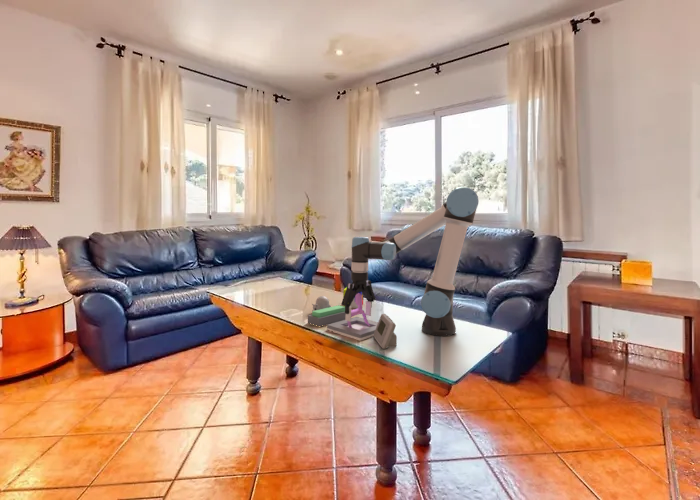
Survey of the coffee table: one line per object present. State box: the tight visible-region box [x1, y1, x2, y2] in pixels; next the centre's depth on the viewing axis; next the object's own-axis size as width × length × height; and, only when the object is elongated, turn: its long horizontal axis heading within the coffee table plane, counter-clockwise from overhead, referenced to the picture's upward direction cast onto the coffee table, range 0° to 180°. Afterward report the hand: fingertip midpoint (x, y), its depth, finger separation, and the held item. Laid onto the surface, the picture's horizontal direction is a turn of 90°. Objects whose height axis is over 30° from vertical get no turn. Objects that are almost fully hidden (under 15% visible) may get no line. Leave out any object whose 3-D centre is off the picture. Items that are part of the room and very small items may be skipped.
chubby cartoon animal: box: [311, 295, 332, 312], centre depth 198 cm, size 7×12×8 cm, turn 140°
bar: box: [311, 305, 345, 318], centre depth 183 cm, size 5×18×3 cm, turn 137°
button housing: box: [307, 311, 346, 327], centre depth 183 cm, size 8×21×4 cm, turn 137°
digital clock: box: [372, 313, 398, 350], centre depth 152 cm, size 16×9×11 cm, turn 177°
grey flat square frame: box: [326, 316, 379, 342], centre depth 169 cm, size 20×20×2 cm
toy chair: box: [347, 293, 370, 328], centre depth 168 cm, size 8×9×15 cm
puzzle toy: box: [342, 286, 364, 309], centre depth 216 cm, size 10×10×10 cm
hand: (358, 318), depth 168 cm, fingers open, 13 cm apart
